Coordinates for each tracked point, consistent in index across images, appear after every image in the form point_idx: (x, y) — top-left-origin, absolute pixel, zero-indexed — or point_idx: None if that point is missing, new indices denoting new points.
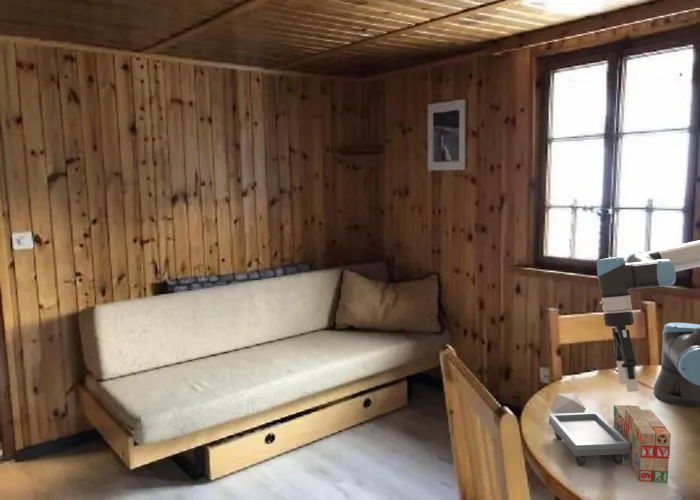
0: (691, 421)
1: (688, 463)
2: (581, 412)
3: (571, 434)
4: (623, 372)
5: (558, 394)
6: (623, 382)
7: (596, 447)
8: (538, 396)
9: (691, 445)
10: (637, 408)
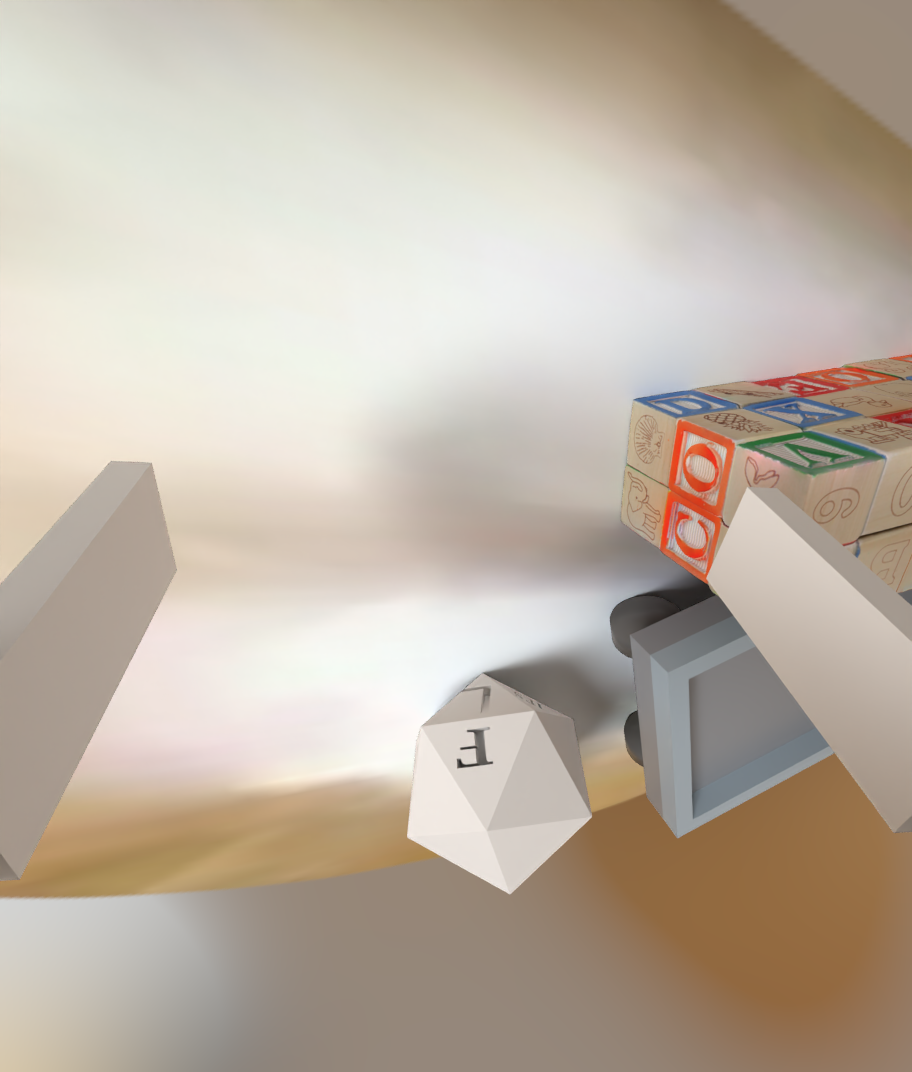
0: None
1: (887, 174)
2: (552, 715)
3: (803, 723)
4: (103, 628)
5: (516, 886)
6: (165, 546)
7: None
8: (158, 890)
9: (726, 32)
10: (852, 488)
